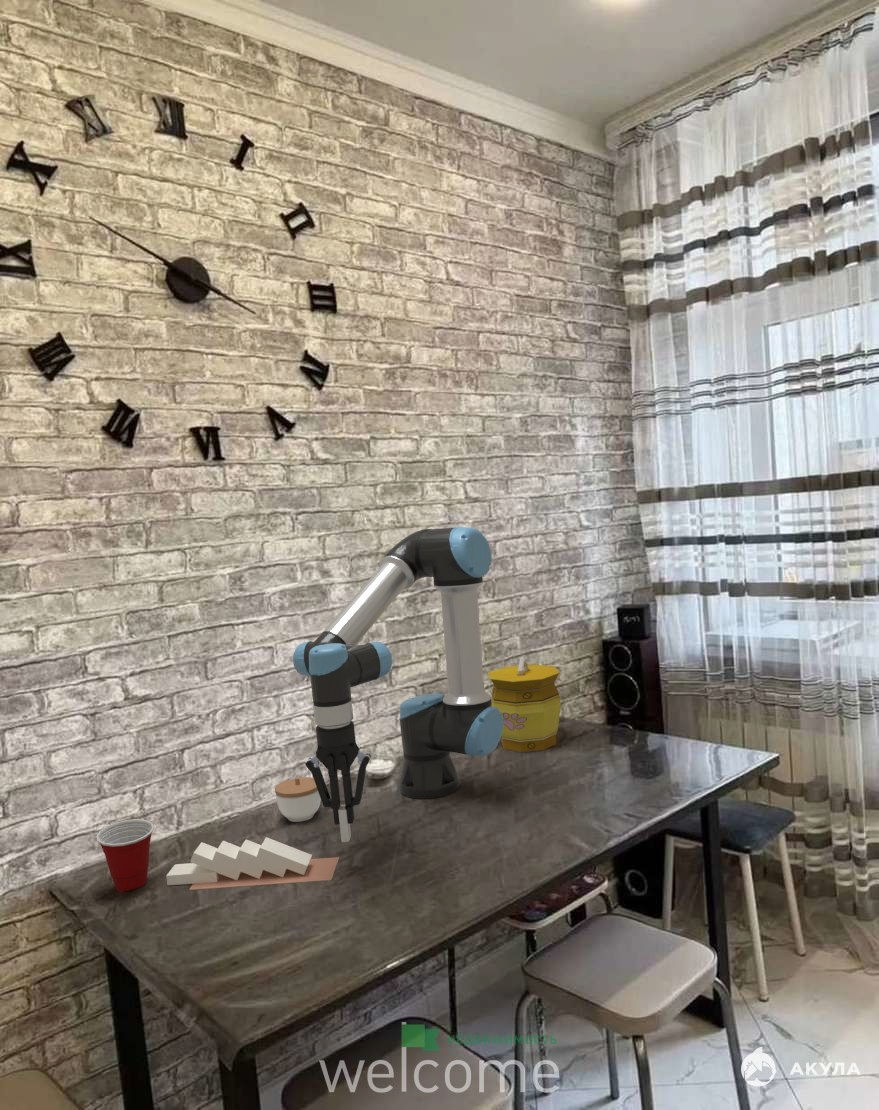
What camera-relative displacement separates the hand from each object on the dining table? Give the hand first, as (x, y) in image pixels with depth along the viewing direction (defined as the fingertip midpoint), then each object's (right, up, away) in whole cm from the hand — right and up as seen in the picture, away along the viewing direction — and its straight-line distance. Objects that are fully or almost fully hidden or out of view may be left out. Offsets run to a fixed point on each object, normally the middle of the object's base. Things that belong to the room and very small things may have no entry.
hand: (346, 838), depth 165 cm
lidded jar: (-14, -6, +31) cm, 34 cm away
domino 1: (-25, -7, +1) cm, 26 cm away
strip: (-16, -8, +1) cm, 18 cm away
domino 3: (-16, -6, +1) cm, 18 cm away
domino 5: (-8, -5, 0) cm, 9 cm away
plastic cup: (-43, -10, +1) cm, 44 cm away
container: (+44, +3, +71) cm, 84 cm away
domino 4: (-12, -6, +1) cm, 13 cm away
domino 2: (-21, -7, +1) cm, 22 cm away
